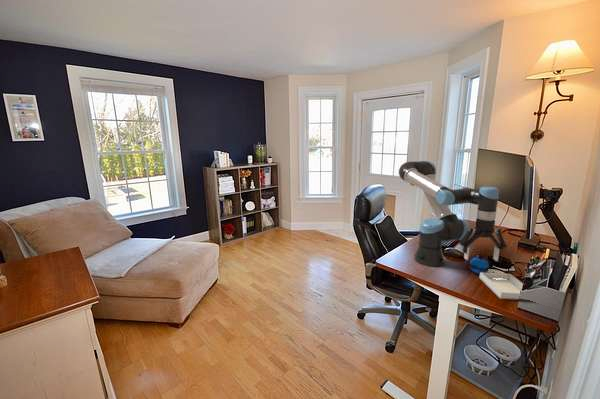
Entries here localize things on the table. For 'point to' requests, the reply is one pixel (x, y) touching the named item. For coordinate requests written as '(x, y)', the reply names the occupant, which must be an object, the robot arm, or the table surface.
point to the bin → (502, 285)
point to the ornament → (479, 265)
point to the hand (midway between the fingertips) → (480, 259)
